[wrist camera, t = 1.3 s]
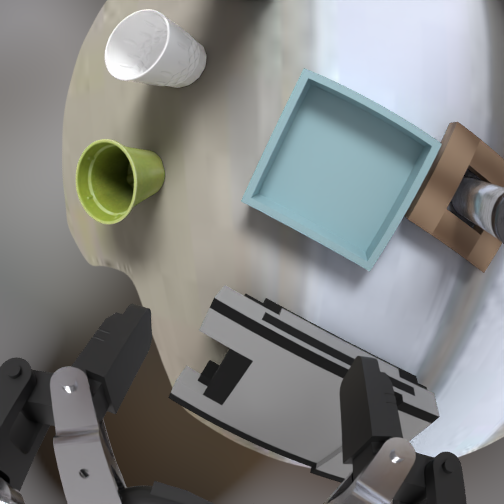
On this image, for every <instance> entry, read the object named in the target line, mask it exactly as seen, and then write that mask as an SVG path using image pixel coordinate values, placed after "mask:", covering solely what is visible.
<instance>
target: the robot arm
mask: <svg viewBox="0 0 504 504" xmlns="http://www.w3.org/2000/svg"><path fill="white" fill-rule="evenodd" d="M151 340H152V329H151V311H150V309H148V308H145V307H142V306H138V305H135V304H130V305H129V306H128V308H127V309H126V311H125V312H124V313H123V314H119V313H115V314H113V315H112V316H110V317H108V318H107V319H105V321H104V322H103V323H102V325H101V326H100V327H99V330H97V331H96V333H95V334H94V336H93V338H91V340H90V341H89V342H88V344H87V345H86V347H85V348H84V349H83V351H82V352H81V354H80V355H79V357H78V358H77V359H76V361H75V362H74V364H73V365H72V366H71V367H63V368H61V369H59V370H57V371H56V372H55V373H48V372H42V371H36V370H32V369H31V367H30V365H29V363H28V362H27V361H26V360H24V359H22V358H12V359H9V360H7V361H6V362H5V363H3V365H2V366H1V367H0V504H25V502H24V499H23V497H22V495H21V493H20V489H21V486H22V485H23V482H24V480H25V477H26V475H27V473H28V471H29V468H30V466H31V464H32V462H33V459H34V457H35V455H36V453H37V451H38V449H39V447H40V445H41V443H42V440H43V439H44V436H45V435H46V432H47V430H48V428H49V426H50V425H53V426H55V428H56V436H54V438H53V443H54V450H55V455H56V459H57V464H58V469H59V473H60V477H61V481H62V485H63V489H64V492H65V496H66V499H67V502H68V504H213V503H211V502H209V501H207V500H205V499H202V498H201V497H198V496H196V495H194V494H192V493H190V492H188V491H187V490H183V489H179V488H176V487H172V486H169V485H166V484H163V483H159V482H156V481H155V482H154V484H153V486H134V487H128V488H126V485H125V483H124V480H123V477H122V475H121V472H120V471H119V468H118V465H117V463H116V460H115V458H114V455H113V451H112V449H111V445H110V442H109V439H108V435H107V432H106V428H105V424H104V421H103V418H104V416H105V414H106V412H107V411H109V412H111V413H114V414H116V413H117V411H118V409H119V407H120V405H121V403H122V401H123V399H124V397H125V395H126V393H127V391H128V389H129V387H130V385H131V383H132V381H133V379H134V378H135V375H136V374H137V372H138V370H139V368H140V366H141V364H142V362H143V360H144V359H145V357H146V355H147V353H148V351H149V348H150V345H151ZM339 395H340V410H341V429H342V455H343V464H353V471H351V472H350V474H349V475H348V476H347V477H346V478H345V480H344V481H343V482H342V483H341V484H340V485H339V487H338V488H337V489H336V490H335V491H334V492H333V494H332V495H331V496H330V497H329V498H328V499H327V500H326V502H324V503H323V504H390V502H391V501H392V499H393V504H466V495H465V487H464V480H463V473H462V467H461V463H460V461H459V459H458V458H457V456H455V455H454V454H453V453H450V452H442V453H440V454H438V455H437V456H436V457H435V458H433V457H430V456H426V455H423V454H419V453H416V452H415V450H414V448H413V446H412V445H411V443H410V442H408V441H407V440H405V439H404V438H403V435H402V429H401V424H400V418H399V413H398V408H397V405H396V398H395V396H394V389H393V385H392V382H391V380H390V379H389V377H388V376H387V374H386V373H385V372H380V369H379V364H378V360H377V359H376V358H372V357H364V356H357V357H356V358H355V360H354V362H353V363H352V365H351V367H350V368H349V370H348V372H347V373H346V375H345V377H344V378H343V380H342V382H341V386H340V393H339Z"/></svg>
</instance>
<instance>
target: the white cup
mask: <svg viewBox="0 0 504 504" xmlns="http://www.w3.org/2000/svg"><path fill="white" fill-rule="evenodd" d="M206 58H207V55H206V53H205V50H204V47H203V46H202V45H201V44H200V43H198V42H197V41H196V40H195V39H194V38H193V37H192V36H191V35H190V34H189V33H187V32H186V31H185V30H184V29H183V28H181V27H180V26H179V25H177V24H176V23H174V22H173V21H171V20H170V19H169V18H167V17H166V16H164V15H163V14H162V13H160V12H158V11H156V10H151V9H145V10H140V11H137V12H135V13H132V14H131V15H129V16H127V17H126V18H125V19H123V20H122V21H121V22H120V23H119V24H118V25H117V26H116V28H115V29H114V30H113V32H112V34H111V35H110V37H109V40H108V42H107V45H106V49H105V63H106V67H107V69H108V71H109V73H110V74H111V75H112V76H113V77H115V78H116V79H119V80H123V81H131V82H138V83H144V84H150V85H158V86H170V87H175V88H180V87H184V86H188V85H190V84H191V83H193V82H194V81H195V80H197V79H198V78H199V77H200V75H201V73H202V72H203V70H204V68H205V66H206Z"/></svg>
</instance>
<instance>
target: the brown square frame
mask: <svg viewBox="0 0 504 504" xmlns="http://www.w3.org/2000/svg"><path fill="white" fill-rule="evenodd" d="M441 144H442V145H441V147H440V149H439V151H438V153H437V155H436V157H435V159H434V161H433V163H432V165H431V167H430V169H429V171H428V173H427V175H426V177H425V179H424V181H423V182H422V184H421V186H420V188H419V190H418V192H417V194H416V195H415V197H414V199H413V201H412V203H411V205H410V206H409V208H408V210H407V212H406V213H405V215H404V216H405V217H406V218H407V219H408V220H410V221H411V222H413V223H414V224H416V225H417V226H419V227H420V228H422V229H423V230H425V231H426V232H428V233H429V234H431V235H432V236H434V237H435V238H437V239H438V240H440V241H441V242H442V243H444V244H445V245H447V246H448V247H450V248H451V249H452V250H454V251H455V252H456V253H458V254H459V255H461V256H462V257H463V258H465V259H466V260H467V261H469V262H470V263H471V264H473V265H474V266H475V267H477V268H478V269H479V270H481V271H482V272H483V273H484V272H485V270H486V269H487V267H488V266H489V264H490V262H491V261H492V259H493V257H494V256H495V254H496V252H497V251H498V249H499V247H500V246H501V244H502V242H500V241H499V240H498V239H497V238H496V237H494V236H493V235H491V234H490V233H488V232H487V231H485V230H484V229H482V228H481V227H479V226H478V225H476V224H475V226H474V228H473V229H472V228H471V227H470V226H469V225H467V224H466V223H465V222H463V221H462V220H461V219H459V218H458V217H457V216H455V215H454V214H453V213H451V212H450V211H449V210H447V207H448V205H449V203H450V202H451V200H452V198H453V196H454V194H455V192H456V190H457V188H458V186H459V184H460V182H461V180H462V178H463V176H464V174H465V172H466V170H467V169H469V170H470V171H471V172H472V173H474V174H475V175H476V176H477V177H479V178H480V179H481V180H482V181H484V182H487V183H491V184H494V185H497V186H500V187H504V159H503V158H502V157H500V156H499V155H498V154H497V153H496V152H495V151H494V150H492V149H491V148H490V147H489V146H488V145H487V144H485V143H484V142H483V141H482V140H481V139H479V138H478V137H477V136H476V135H474V134H473V133H472V132H471V131H469V130H468V129H467V128H465V127H464V126H463V125H461V124H460V123H459V122H453V123H450V124H449V126H448V128H447V130H446V132H445V135H444V137H443V139H442V141H441Z"/></svg>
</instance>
